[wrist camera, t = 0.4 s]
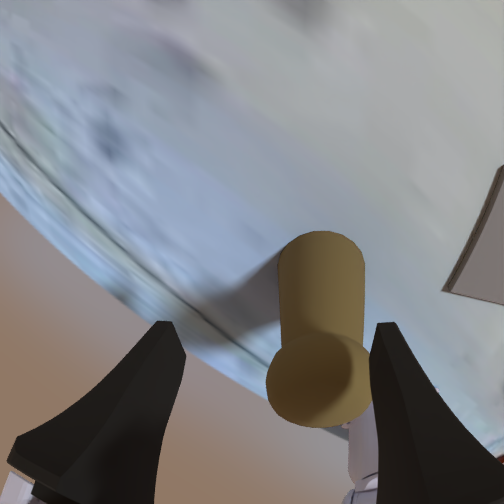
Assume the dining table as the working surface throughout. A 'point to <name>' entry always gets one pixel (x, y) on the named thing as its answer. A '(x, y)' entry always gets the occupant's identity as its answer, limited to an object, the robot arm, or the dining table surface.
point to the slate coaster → (485, 255)
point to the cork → (320, 333)
